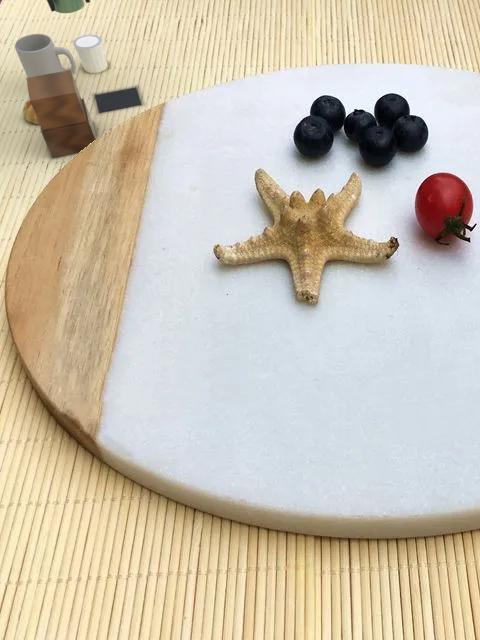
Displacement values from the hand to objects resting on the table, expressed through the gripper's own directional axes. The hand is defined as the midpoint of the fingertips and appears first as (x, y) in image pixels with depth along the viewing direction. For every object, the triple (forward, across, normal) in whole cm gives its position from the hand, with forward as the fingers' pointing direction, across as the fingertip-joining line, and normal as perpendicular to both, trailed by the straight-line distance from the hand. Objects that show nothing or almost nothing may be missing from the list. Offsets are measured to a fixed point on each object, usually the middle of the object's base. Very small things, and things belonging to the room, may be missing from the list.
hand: (70, 3), depth 137 cm
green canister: (-1, 0, +4) cm, 4 cm away
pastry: (+13, -13, +25) cm, 31 cm away
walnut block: (+22, -10, +16) cm, 29 cm away
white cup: (+2, +4, +36) cm, 36 cm away
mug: (+4, -7, +34) cm, 35 cm away
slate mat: (+14, +4, +24) cm, 28 cm away
